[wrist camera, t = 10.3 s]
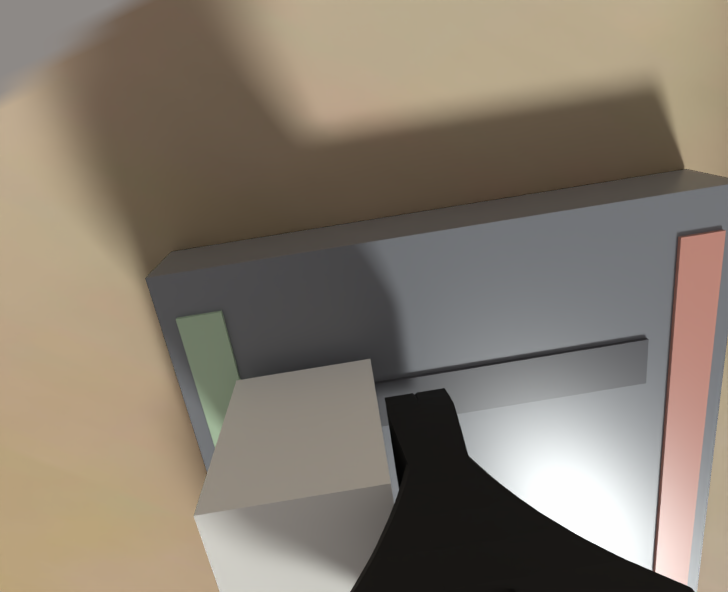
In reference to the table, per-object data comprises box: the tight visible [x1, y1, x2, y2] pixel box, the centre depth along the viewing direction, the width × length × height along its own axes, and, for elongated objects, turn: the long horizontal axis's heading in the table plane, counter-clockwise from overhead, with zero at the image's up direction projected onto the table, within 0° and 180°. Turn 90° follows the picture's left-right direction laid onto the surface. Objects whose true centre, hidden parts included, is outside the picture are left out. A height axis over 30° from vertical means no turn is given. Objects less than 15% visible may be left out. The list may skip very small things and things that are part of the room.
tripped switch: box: [194, 359, 394, 592], centre depth 10 cm, size 3×3×4 cm
